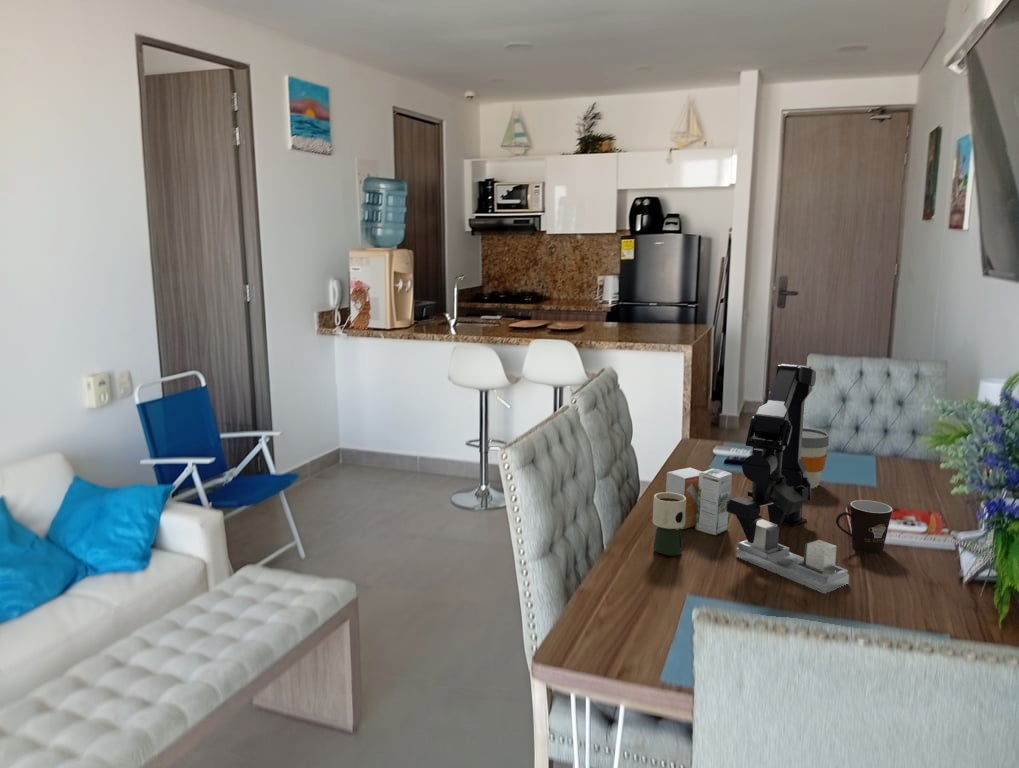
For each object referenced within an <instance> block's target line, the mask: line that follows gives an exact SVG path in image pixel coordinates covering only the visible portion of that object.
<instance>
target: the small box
mask: <svg viewBox="0 0 1019 768" xmlns="http://www.w3.org/2000/svg"><path fill="white" fill-rule="evenodd" d="M702 472H703V471H701V470H699V469H696V468H693V467H690V466H689V467H687V468H680V469H676V470H672V471H667V472H666V483H665V484H666V485H665V492H671V493H677V494H681V495H683V496H685V497H686V514H685V525H684V527H681V528H679V529H680V530H685V529H688V528H689V529H690V528H692V527H696V514H697V499H698V484H699V473H702Z"/></svg>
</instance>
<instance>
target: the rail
mask: <svg viewBox="0 0 1019 768" xmlns="http://www.w3.org/2000/svg"><path fill="white" fill-rule="evenodd" d="M837 547H838V546H837V545H835V544H832V543H829V542H826V541H824V540H822V539H817V540H813V541H809V542H807V543H804V552H803V554H804V555H803V556H801V555H798V554H795V553H793V552H791V551H790V547H788V546H786V545H783V544H780V543H778V547H776V551H773V552H770V553H767V552H765V551H762V550H760V549H757V548H755V547H752V546H750V545H749V542H748V540H747V539H746V540H743V541H740V542H738V547H736V552H735V557H736V558H738V557H739V559H740V558H741V559H740V560H743V561H745V562H747V561H748V563H749V564H751V565H755V566H756V567H760V568H762V569H765V570H766V569H767V571H769V572H771V573H774V574H776V573H777V574H776V575H778V574H779V576H780V577H781V576H782V577H783V576H784V577H783V578H785V577H786V579H789V580H791V581H793V582H795V583H796V584H797V583H798V584H800V585H802V586H804V585H805V587H806V588H809V589H812V590H814V591H816V590H817V592H819V593H822V594H824V595H826V594H828V593H830V592H833V591H835V590H838V589H840V588H842V587H841V586H843V587H845V586H847V585H846V584H848V585H849V583H850V574H849V573H848V572H849V571H848V569H847V568H843V567H841V566H838V565H836V559H837ZM844 585H845V586H844ZM839 587H840V588H839ZM837 588H838V589H837ZM827 592H828V593H827Z"/></svg>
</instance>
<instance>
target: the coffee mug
mask: <svg viewBox="0 0 1019 768" xmlns="http://www.w3.org/2000/svg"><path fill="white" fill-rule="evenodd" d="M892 514H893V507H892V506H890V505H888V504H886V503H884V502H880V501H874V500H870V499H869V500H867V499H859V500H853V501H851V502H850V512H847V511H844V512H841V513H839V514H838V515H837V516H836V519H835V524H836V526H837V528H839V530H841V531H842V532H843V533H845V534H846V535H848V537H849V536H850V537H851V547H852V548H853V549H854V550H855V549H856V550H855V551H857V550H858V551H857V552H860V551H862V552H861V553H863V552H866V553H865V554H868V553H879V554H881V553H880V552H882V551H883V552H884V548H885V547H884V546H885V544H886V539H887V534H888V530H889V526H890V522H891V517H892ZM843 516H849V517H850V524H851V525H850V528H851V532H849V531H847V530H846V529H844V528H842V526H841V524H840V519H841V517H843ZM883 552H882V553H883Z"/></svg>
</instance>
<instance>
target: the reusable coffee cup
mask: <svg viewBox="0 0 1019 768" xmlns="http://www.w3.org/2000/svg"><path fill="white" fill-rule="evenodd" d="M829 438H830V437H829V434H828V433H827V432H826V431H822V430H819V429H814V428H813V429H812V428H805V427H804V428H803V430H802V446H801V460H802V461H803V463H804V465H805V466H806V468H807V478H809V483H810V484H811V489H814V488H813V487H816V488H818V487H819V486H820V481H821V477H822V471H824V470H825V465H826V462H827V461H826V460H827V457H828V454H827V448H828V446H829V445H830V444H829V443H830V439H829ZM818 485H819V486H818ZM817 486H818V487H817Z"/></svg>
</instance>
